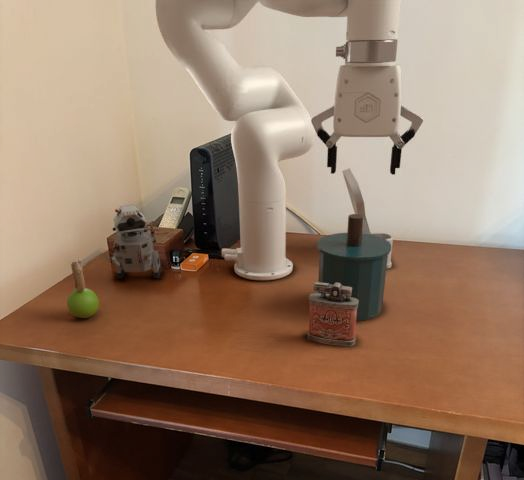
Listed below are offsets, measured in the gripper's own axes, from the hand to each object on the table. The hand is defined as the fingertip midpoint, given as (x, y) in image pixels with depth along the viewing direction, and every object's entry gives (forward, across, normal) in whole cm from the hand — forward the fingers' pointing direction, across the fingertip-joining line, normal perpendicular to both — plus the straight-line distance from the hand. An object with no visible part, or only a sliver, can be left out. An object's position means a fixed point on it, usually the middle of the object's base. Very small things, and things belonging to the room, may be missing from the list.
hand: (362, 172), depth 90 cm
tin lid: (+13, -1, -1) cm, 13 cm away
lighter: (+24, -3, -14) cm, 28 cm away
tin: (+24, -1, -1) cm, 24 cm away
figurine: (+24, -45, +6) cm, 51 cm away
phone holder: (+24, +2, +27) cm, 36 cm away
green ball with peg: (+24, -48, -12) cm, 55 cm away
